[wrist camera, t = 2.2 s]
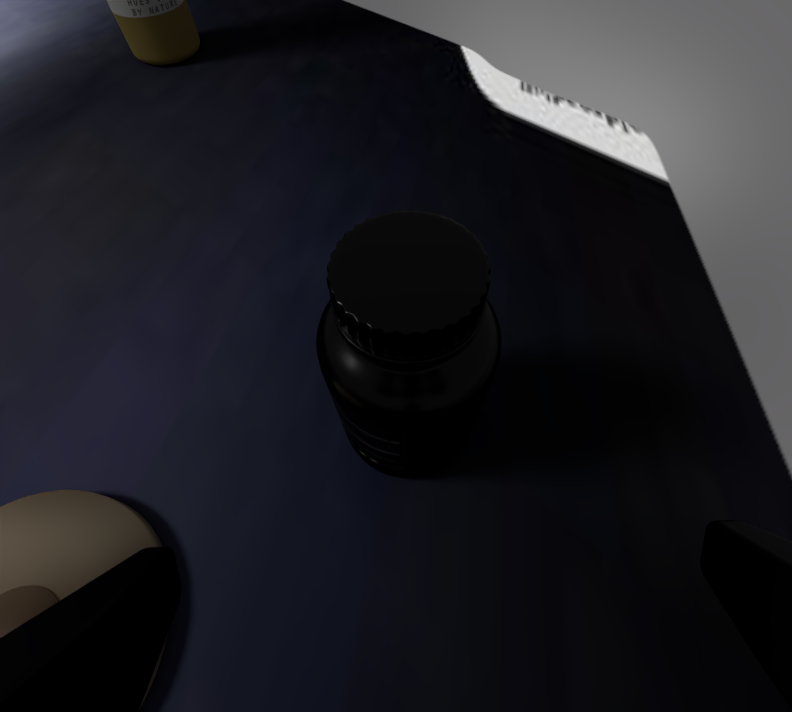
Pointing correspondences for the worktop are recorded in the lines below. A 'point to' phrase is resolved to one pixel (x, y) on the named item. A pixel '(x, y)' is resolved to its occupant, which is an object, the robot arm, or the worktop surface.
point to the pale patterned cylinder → (157, 29)
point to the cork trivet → (63, 549)
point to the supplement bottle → (408, 340)
